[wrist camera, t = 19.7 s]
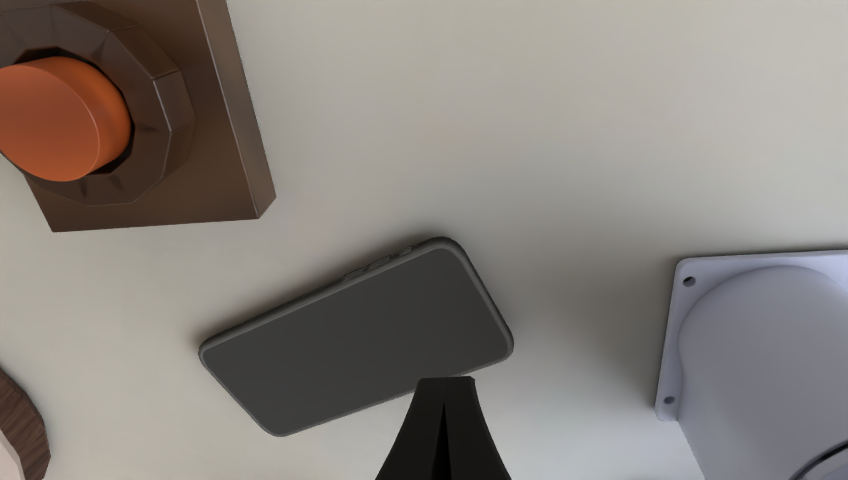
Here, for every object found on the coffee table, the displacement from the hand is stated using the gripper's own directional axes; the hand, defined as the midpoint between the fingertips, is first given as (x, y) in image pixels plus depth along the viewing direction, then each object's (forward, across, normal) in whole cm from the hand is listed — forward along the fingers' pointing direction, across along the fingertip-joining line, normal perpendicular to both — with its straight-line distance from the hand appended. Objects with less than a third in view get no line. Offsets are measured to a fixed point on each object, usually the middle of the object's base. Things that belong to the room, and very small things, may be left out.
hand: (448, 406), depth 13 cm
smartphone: (+10, +5, +6) cm, 13 cm away
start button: (+7, +12, -7) cm, 15 cm away
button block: (+11, +12, -7) cm, 17 cm away
